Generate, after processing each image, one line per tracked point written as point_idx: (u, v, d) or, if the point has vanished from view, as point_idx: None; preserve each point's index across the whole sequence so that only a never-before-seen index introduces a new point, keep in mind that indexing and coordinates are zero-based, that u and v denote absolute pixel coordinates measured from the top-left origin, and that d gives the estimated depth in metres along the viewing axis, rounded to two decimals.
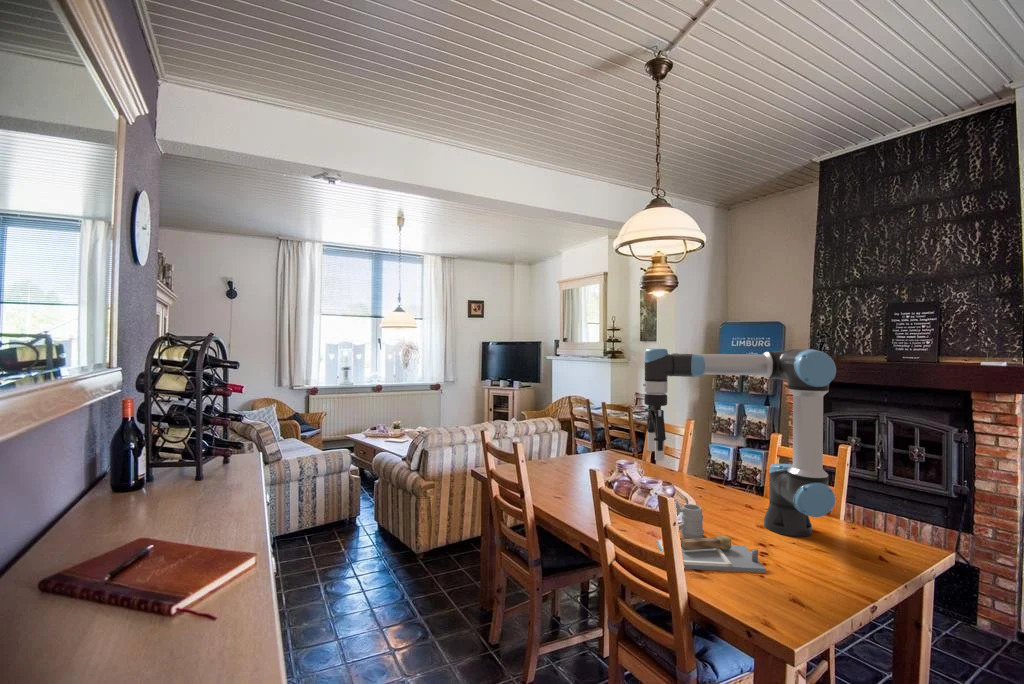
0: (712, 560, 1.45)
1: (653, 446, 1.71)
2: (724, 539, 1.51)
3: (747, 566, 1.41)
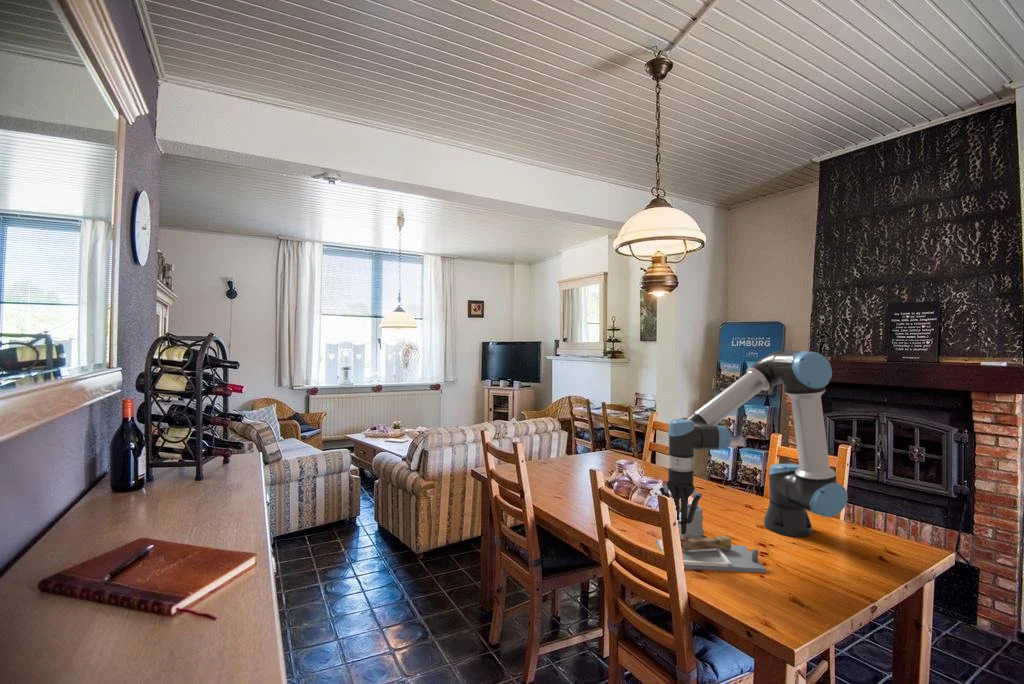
0: (712, 560, 1.45)
1: None
2: (724, 539, 1.51)
3: (747, 566, 1.41)
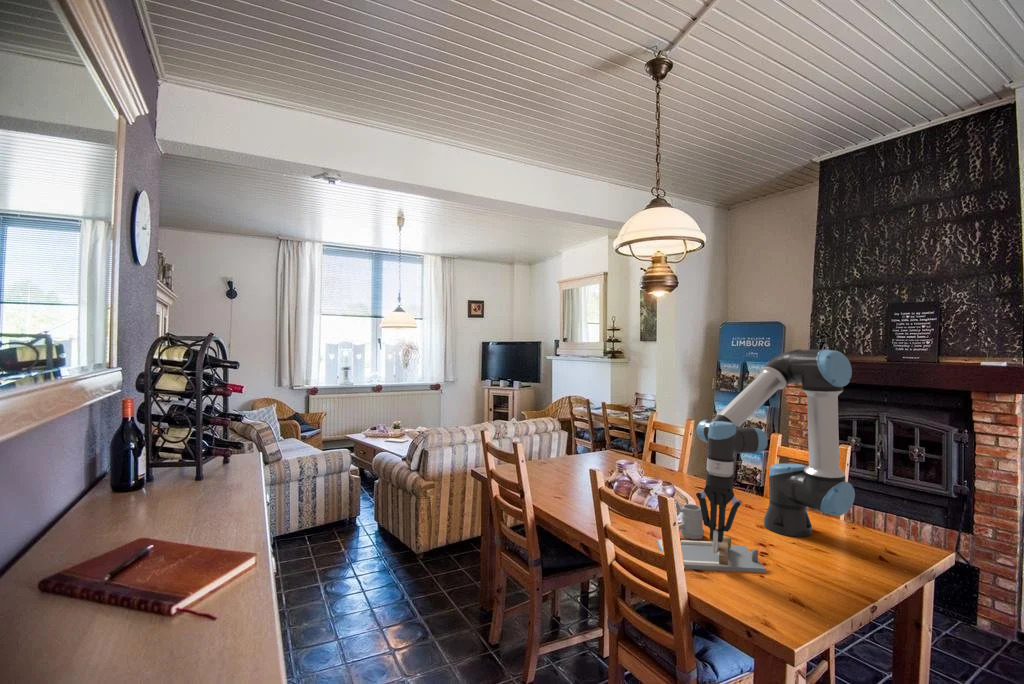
0: (712, 560, 1.45)
1: None
2: (726, 539, 1.52)
3: (747, 566, 1.41)
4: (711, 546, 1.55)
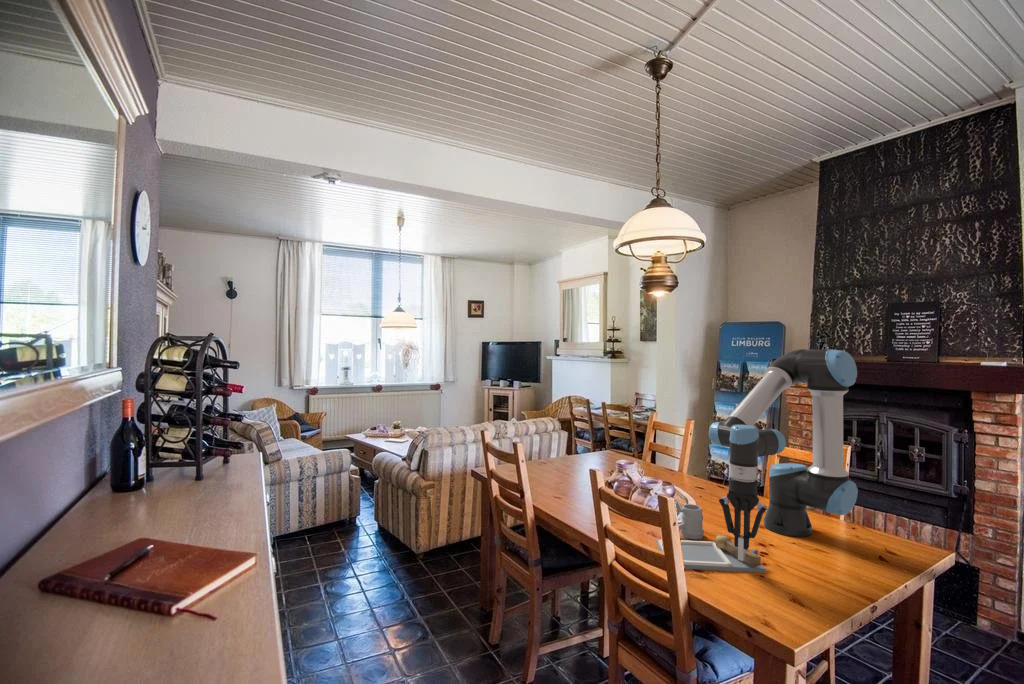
0: (712, 560, 1.45)
1: None
2: (726, 538, 1.52)
3: (747, 566, 1.41)
4: (711, 546, 1.55)
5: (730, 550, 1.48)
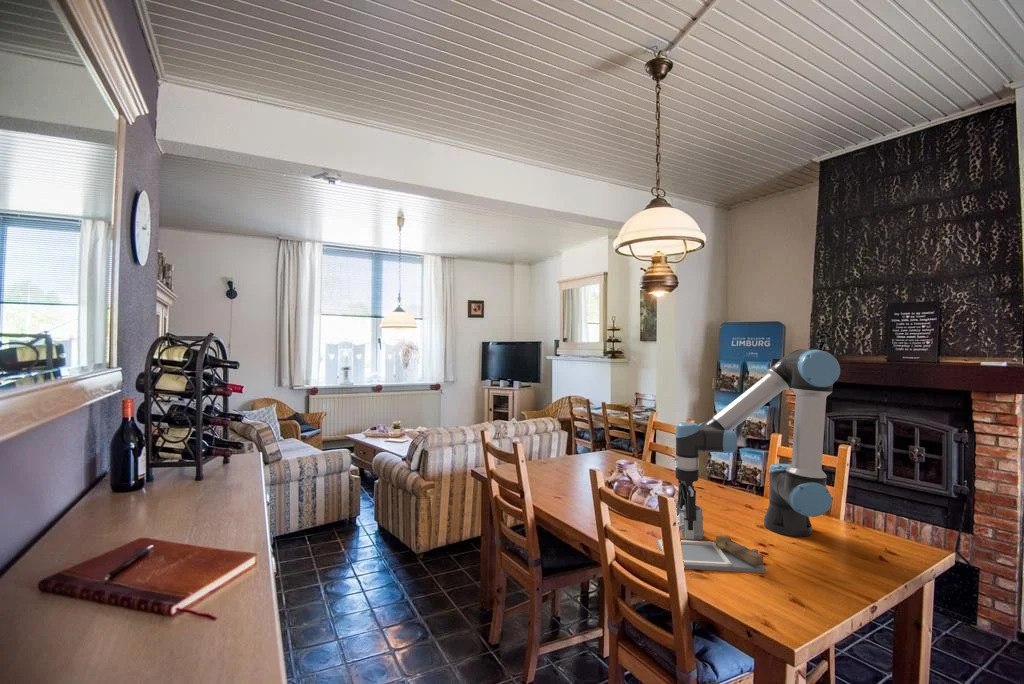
0: (712, 560, 1.45)
1: None
2: (726, 538, 1.52)
3: (747, 566, 1.41)
4: (711, 546, 1.55)
5: (731, 550, 1.48)
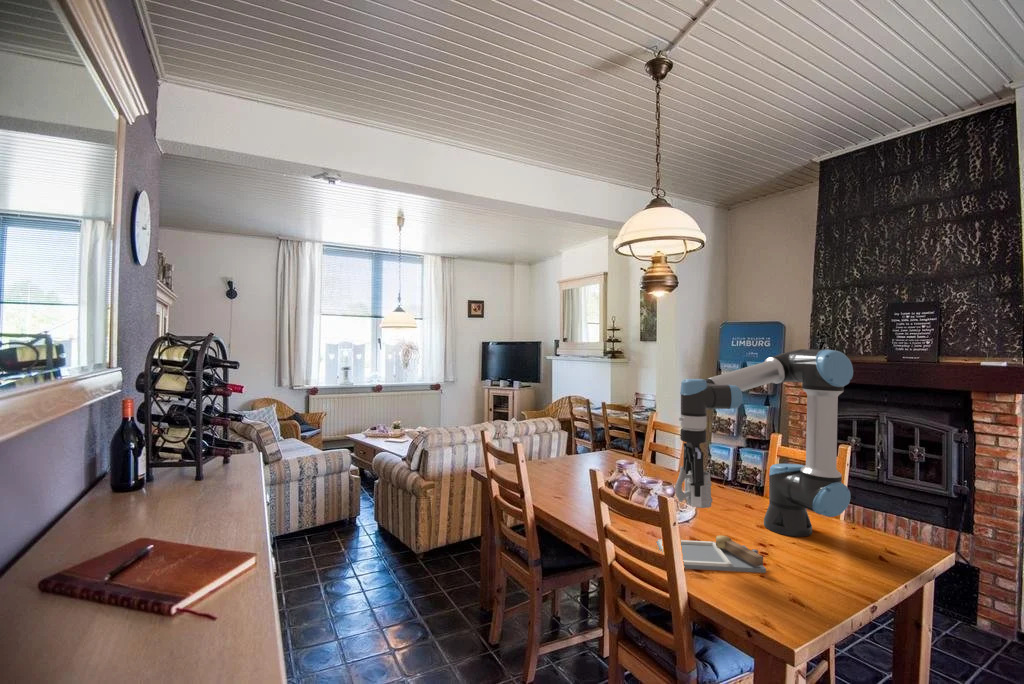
0: (712, 560, 1.45)
1: None
2: (726, 538, 1.52)
3: (747, 566, 1.41)
4: (711, 546, 1.55)
5: (731, 550, 1.48)
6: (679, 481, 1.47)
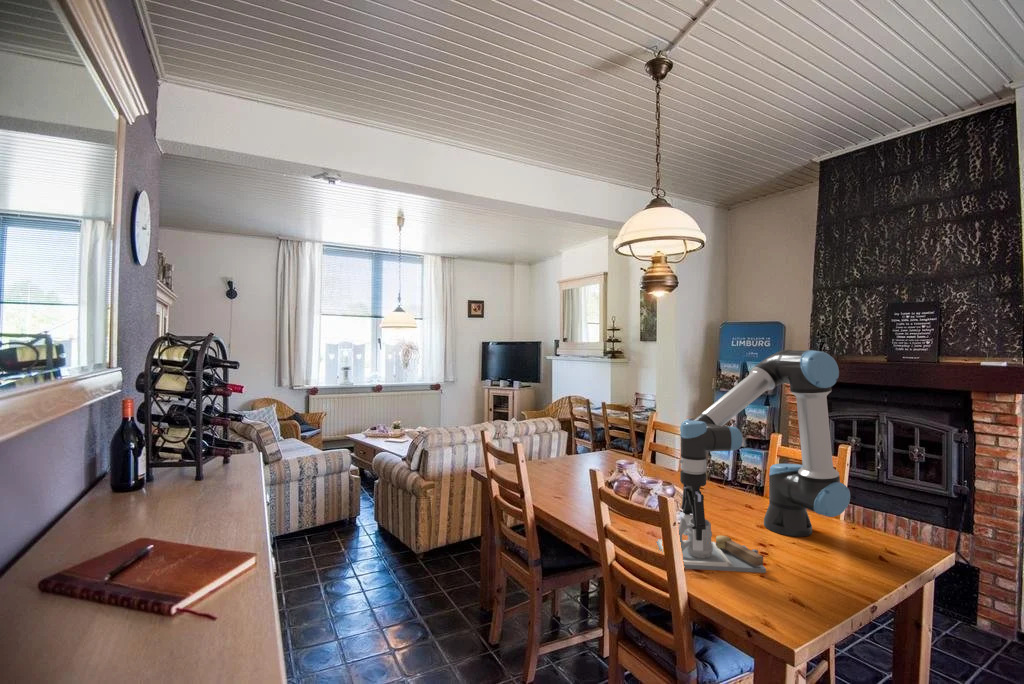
0: (712, 560, 1.45)
1: None
2: (726, 538, 1.52)
3: (747, 566, 1.41)
4: None
5: (731, 550, 1.48)
6: (679, 532, 1.47)
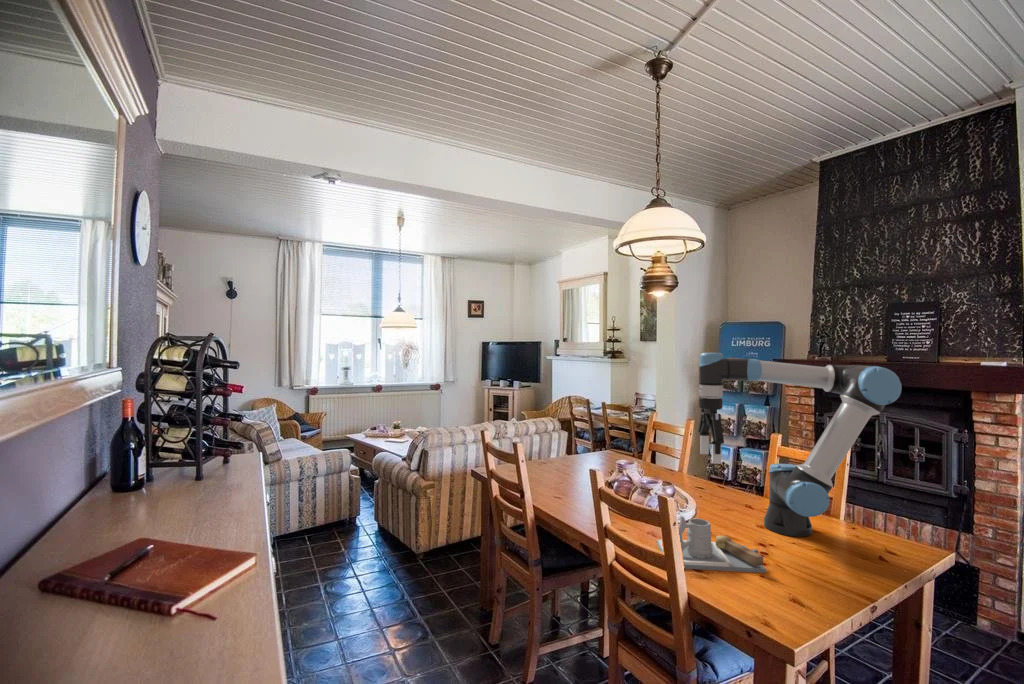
0: (712, 560, 1.45)
1: (706, 450, 1.73)
2: (726, 538, 1.52)
3: (747, 566, 1.41)
4: (711, 546, 1.55)
5: (731, 550, 1.48)
6: (679, 531, 1.47)
